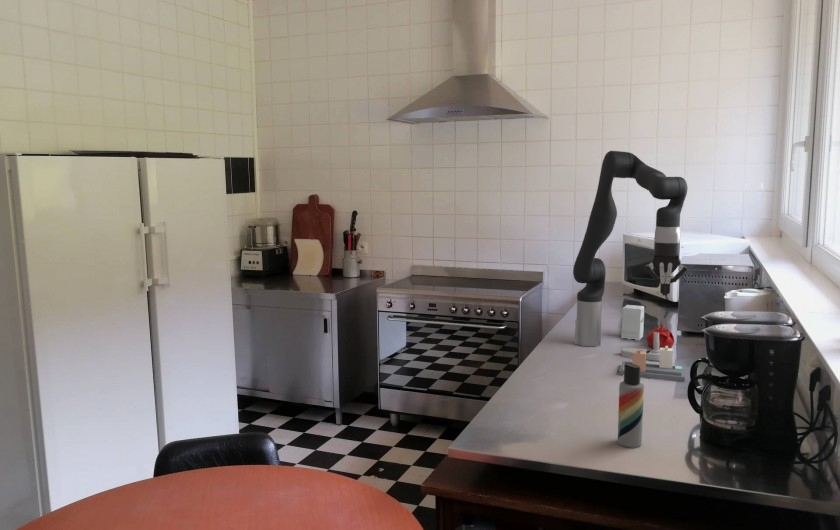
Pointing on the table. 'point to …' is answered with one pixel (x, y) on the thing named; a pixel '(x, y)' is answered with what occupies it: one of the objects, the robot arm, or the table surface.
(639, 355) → the terracotta tab
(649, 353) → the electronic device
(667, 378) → the switch panel
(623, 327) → the supplement box
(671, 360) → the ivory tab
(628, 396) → the lotion bottle
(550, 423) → the table surface
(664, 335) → the pomegranate
